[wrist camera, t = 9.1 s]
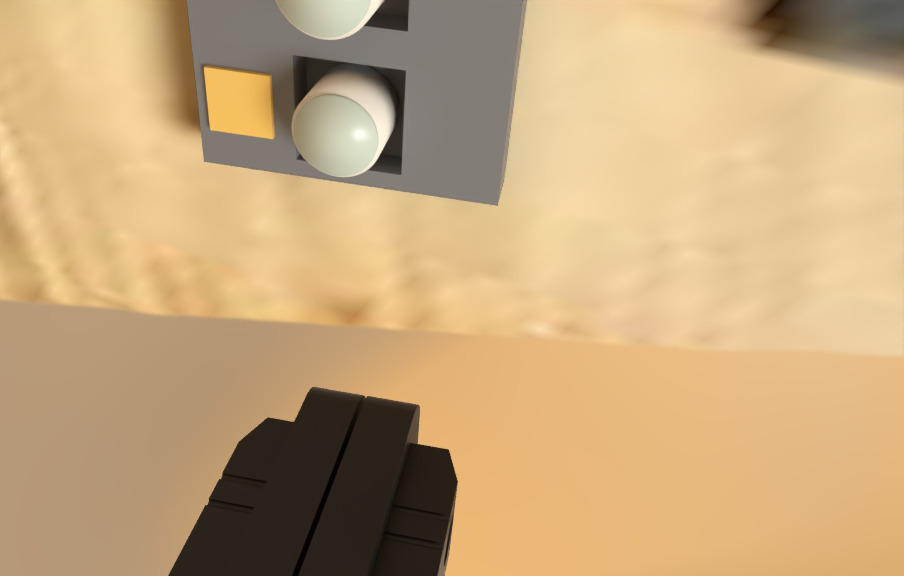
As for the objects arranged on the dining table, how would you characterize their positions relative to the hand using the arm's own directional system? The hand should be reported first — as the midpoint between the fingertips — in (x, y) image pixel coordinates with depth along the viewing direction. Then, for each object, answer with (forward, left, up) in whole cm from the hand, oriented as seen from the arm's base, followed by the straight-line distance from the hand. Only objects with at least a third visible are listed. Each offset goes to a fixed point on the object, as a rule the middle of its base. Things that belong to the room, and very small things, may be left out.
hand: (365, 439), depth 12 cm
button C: (+9, +10, -33) cm, 36 cm away
